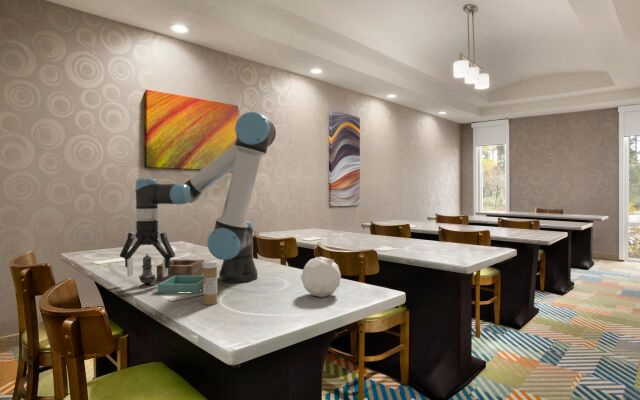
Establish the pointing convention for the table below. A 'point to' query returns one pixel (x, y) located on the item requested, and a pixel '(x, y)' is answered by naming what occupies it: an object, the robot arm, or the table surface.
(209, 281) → the sprinkles bottle
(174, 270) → the wooden crate
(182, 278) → the tray
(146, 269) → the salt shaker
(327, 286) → the geodesic sphere
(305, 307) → the table surface
